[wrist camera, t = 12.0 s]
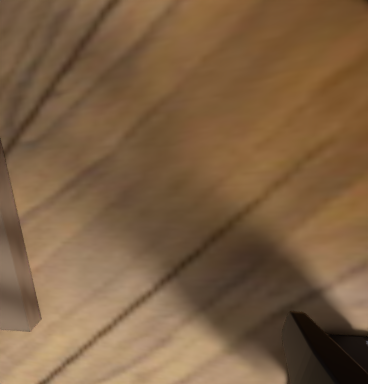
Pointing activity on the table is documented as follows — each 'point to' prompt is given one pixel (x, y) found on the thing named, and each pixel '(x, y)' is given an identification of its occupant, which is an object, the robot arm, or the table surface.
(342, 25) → the table surface
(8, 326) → the comb board
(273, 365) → the table surface
